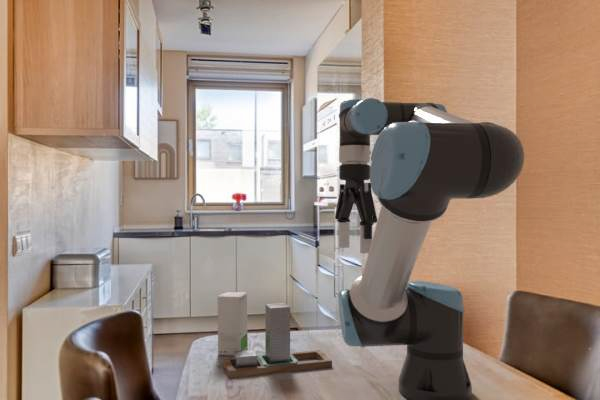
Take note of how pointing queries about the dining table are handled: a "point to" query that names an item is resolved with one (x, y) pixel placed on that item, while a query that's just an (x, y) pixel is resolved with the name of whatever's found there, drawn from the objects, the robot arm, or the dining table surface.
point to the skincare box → (232, 323)
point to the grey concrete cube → (245, 359)
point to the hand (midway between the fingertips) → (354, 250)
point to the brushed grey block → (277, 333)
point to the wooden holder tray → (280, 364)
